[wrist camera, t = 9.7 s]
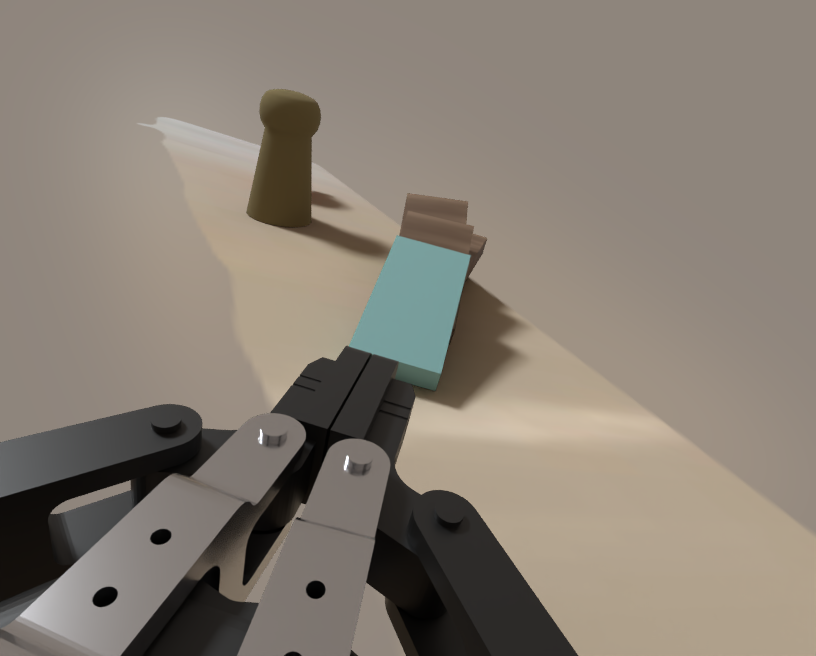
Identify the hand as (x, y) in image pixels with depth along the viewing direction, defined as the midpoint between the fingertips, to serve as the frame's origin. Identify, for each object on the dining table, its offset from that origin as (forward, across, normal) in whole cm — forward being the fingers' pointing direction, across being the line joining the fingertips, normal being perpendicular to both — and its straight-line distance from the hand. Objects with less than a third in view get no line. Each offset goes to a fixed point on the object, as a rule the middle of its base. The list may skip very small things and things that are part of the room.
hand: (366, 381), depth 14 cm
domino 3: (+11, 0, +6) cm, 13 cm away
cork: (+33, +17, +7) cm, 37 cm away
